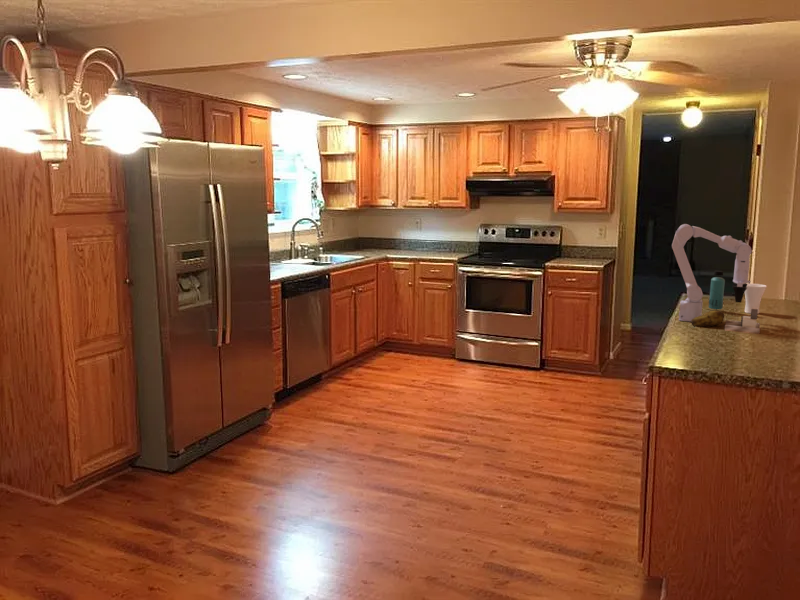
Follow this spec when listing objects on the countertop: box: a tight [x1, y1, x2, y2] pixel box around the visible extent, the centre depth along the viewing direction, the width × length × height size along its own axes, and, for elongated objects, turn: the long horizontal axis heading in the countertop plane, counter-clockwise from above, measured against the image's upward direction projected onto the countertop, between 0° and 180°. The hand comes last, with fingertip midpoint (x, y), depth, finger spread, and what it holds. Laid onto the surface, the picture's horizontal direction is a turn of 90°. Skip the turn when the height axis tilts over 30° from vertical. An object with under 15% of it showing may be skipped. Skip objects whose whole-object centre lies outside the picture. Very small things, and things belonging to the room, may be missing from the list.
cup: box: [744, 283, 768, 314], centre depth 325 cm, size 10×10×14 cm
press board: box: [724, 319, 761, 335], centre depth 285 cm, size 13×14×3 cm
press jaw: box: [740, 309, 759, 328], centre depth 283 cm, size 6×9×8 cm, turn 152°
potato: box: [690, 309, 725, 328], centre depth 290 cm, size 8×13×8 cm, turn 67°
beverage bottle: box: [708, 270, 726, 310], centre depth 327 cm, size 6×7×20 cm
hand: (738, 300), depth 298 cm, fingers open, 7 cm apart
